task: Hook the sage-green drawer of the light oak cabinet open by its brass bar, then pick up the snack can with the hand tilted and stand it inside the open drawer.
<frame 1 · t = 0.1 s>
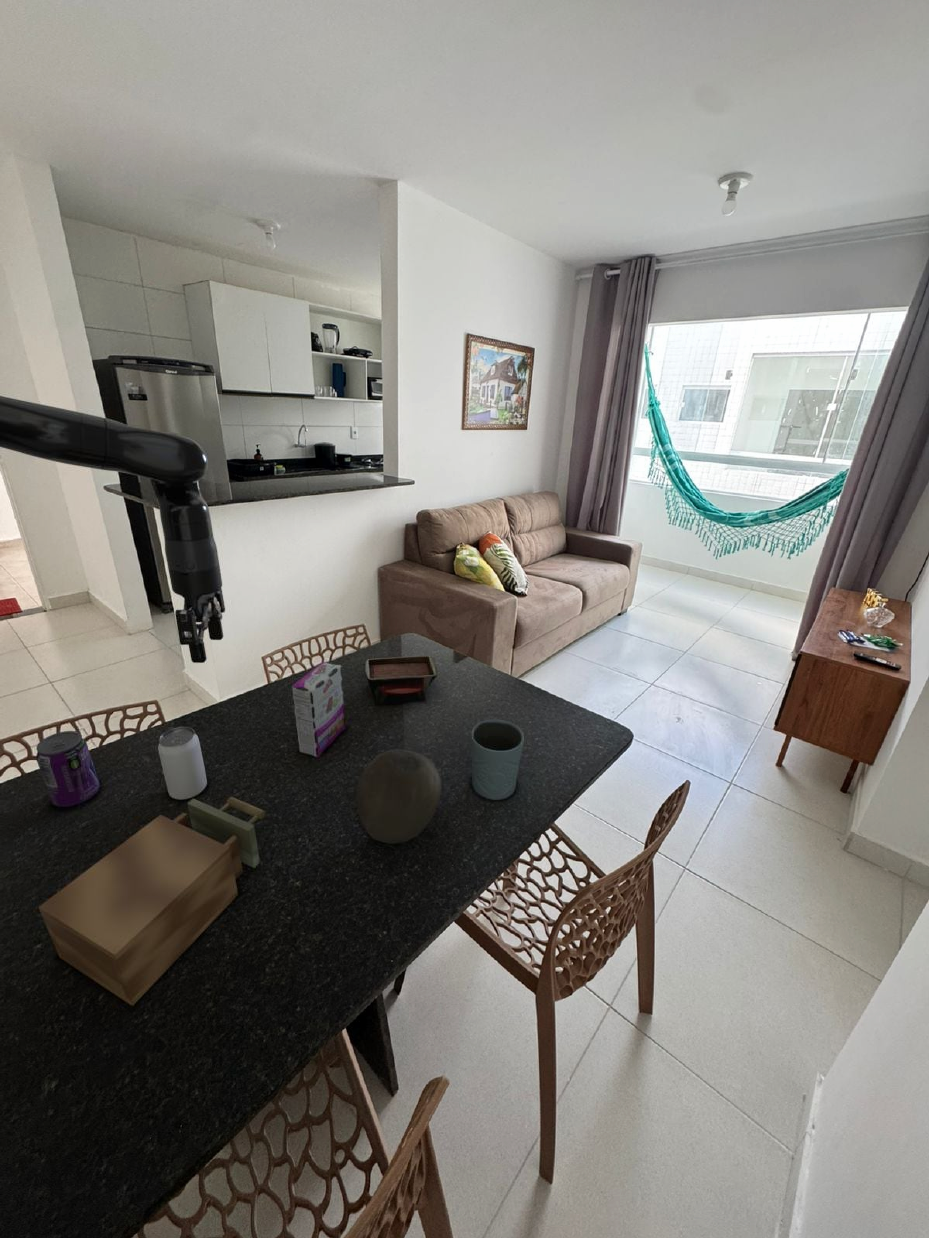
hand: (208, 650, 90), 27 cm above the table, tool pointing down, fingers open, 8 cm apart
cabinet: (154, 924, 72), on the table
teal cup: (492, 784, 101), on the table
can: (188, 789, 96), on the table
drawer: (198, 855, 77), point 5 cm above the table, slide at 4.0 cm
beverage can: (77, 796, 93), on the table
candy bar box: (322, 740, 111), on the table
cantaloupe: (398, 829, 90), on the table
baking dish: (400, 692, 130), on the table
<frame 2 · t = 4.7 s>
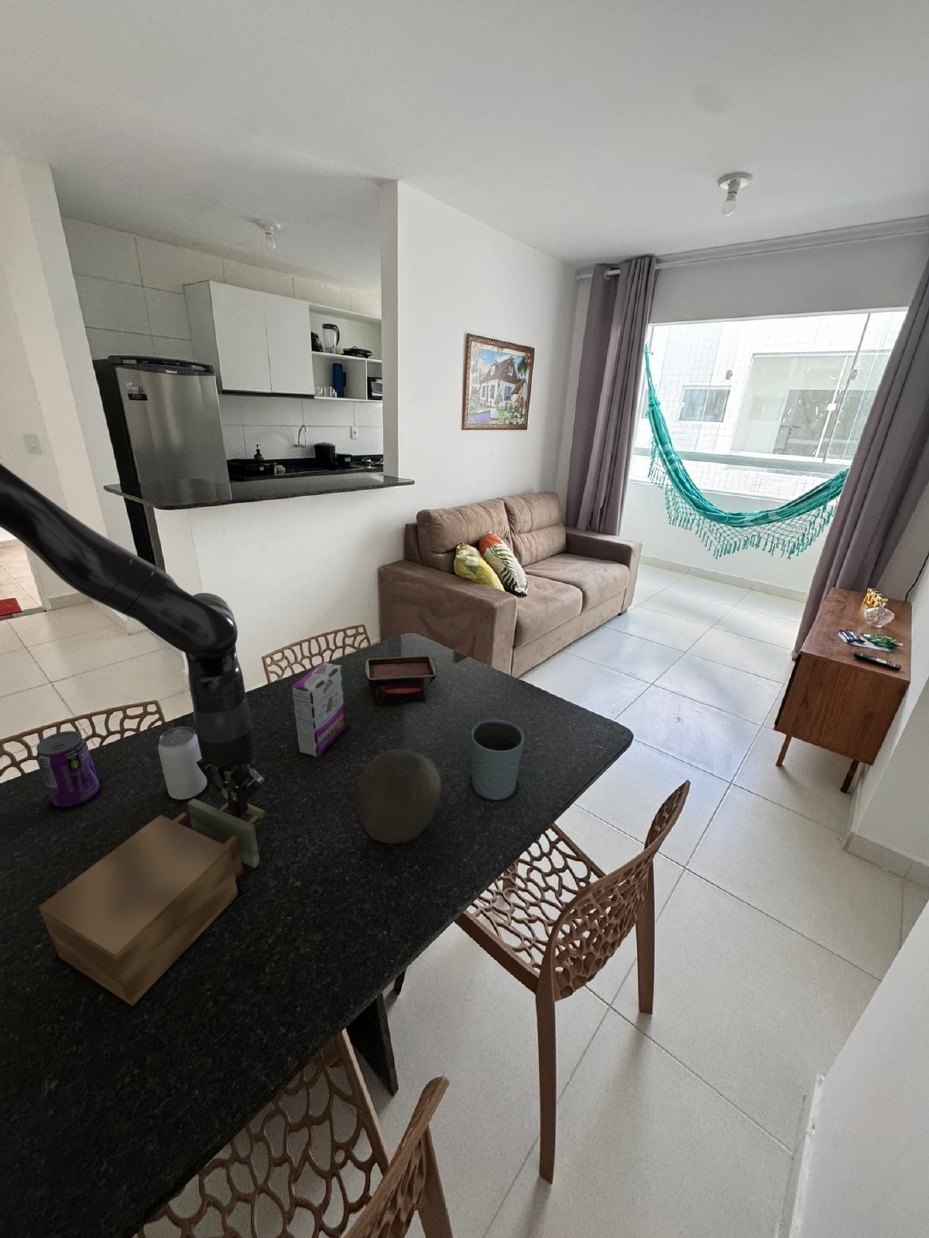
hand: (239, 813, 83), 6 cm above the table, tool pointing down, fingers closed
drawer: (198, 855, 77), point 5 cm above the table, slide at 4.0 cm, touching gripper
everything else where it was.
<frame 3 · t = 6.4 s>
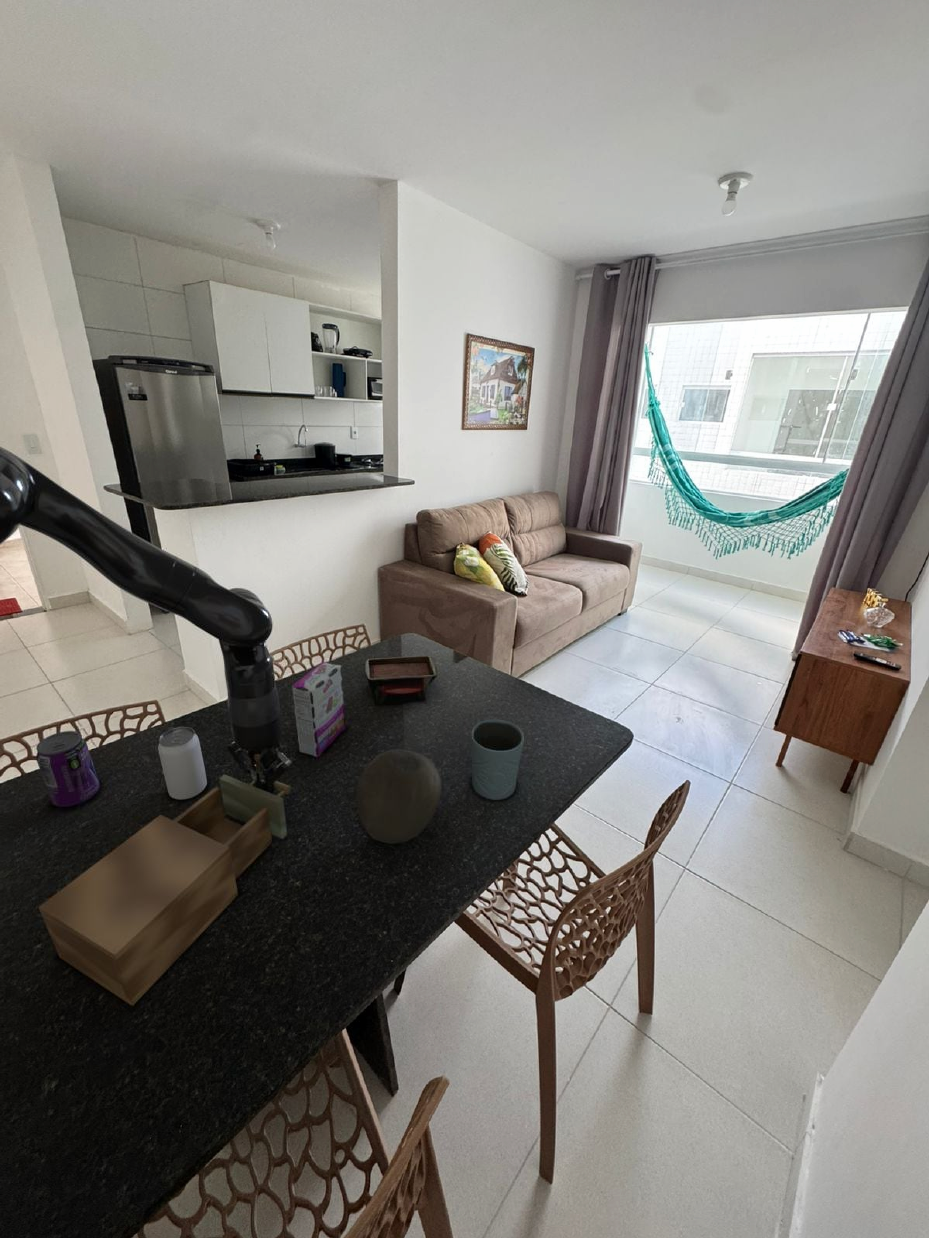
hand: (266, 794, 89), 5 cm above the table, tool pointing down, fingers closed
drawer: (231, 825, 82), point 5 cm above the table, slide at 10.3 cm
everything else where it was.
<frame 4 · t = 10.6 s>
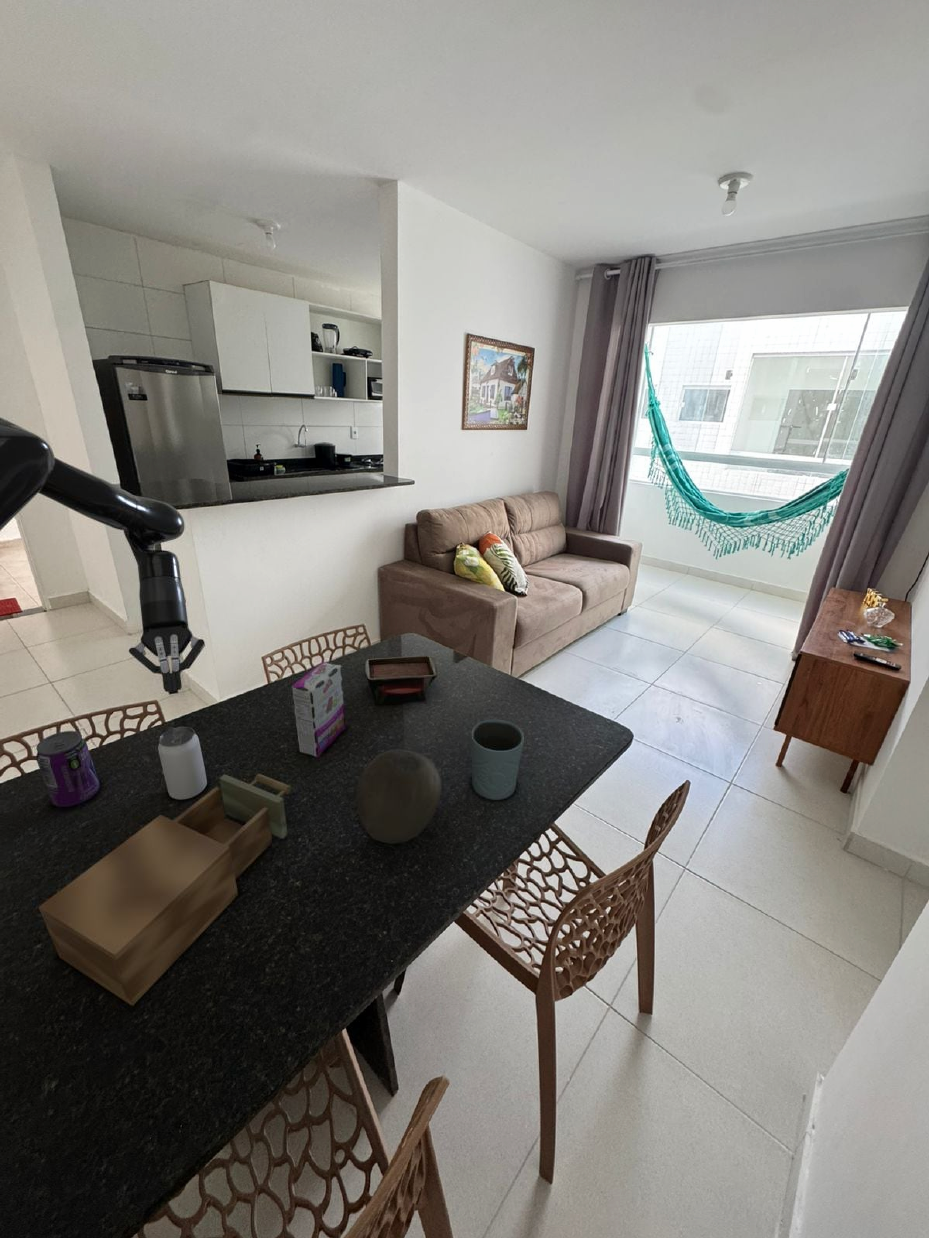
hand: (173, 693, 95), 17 cm above the table, tool tilted 40°, fingers closed
nothing on the table moved.
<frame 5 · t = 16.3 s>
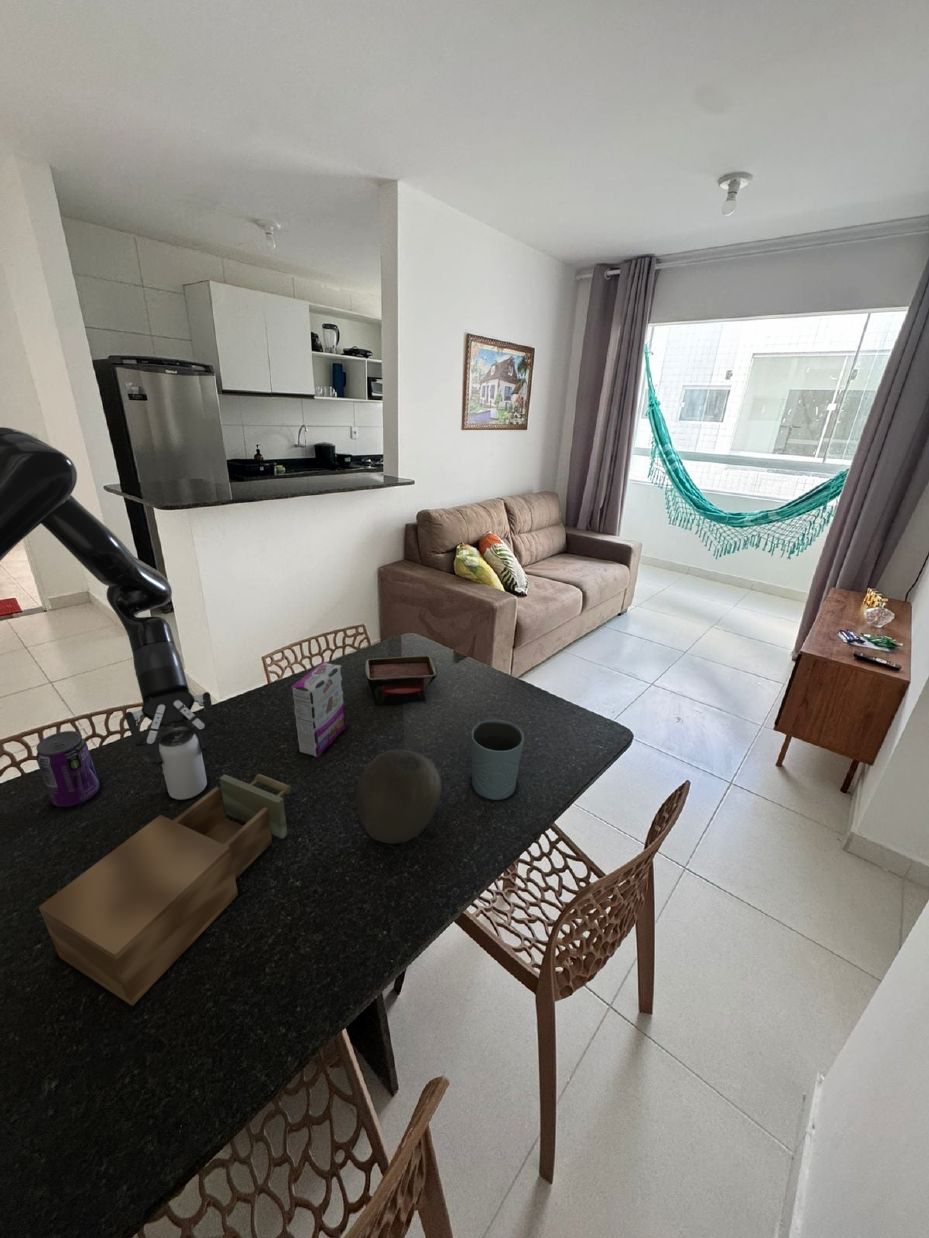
hand: (182, 757, 91), 8 cm above the table, tool tilted 45°, fingers closed on can, 6 cm apart
can: (188, 789, 96), on the table, touching gripper
everything else where it was.
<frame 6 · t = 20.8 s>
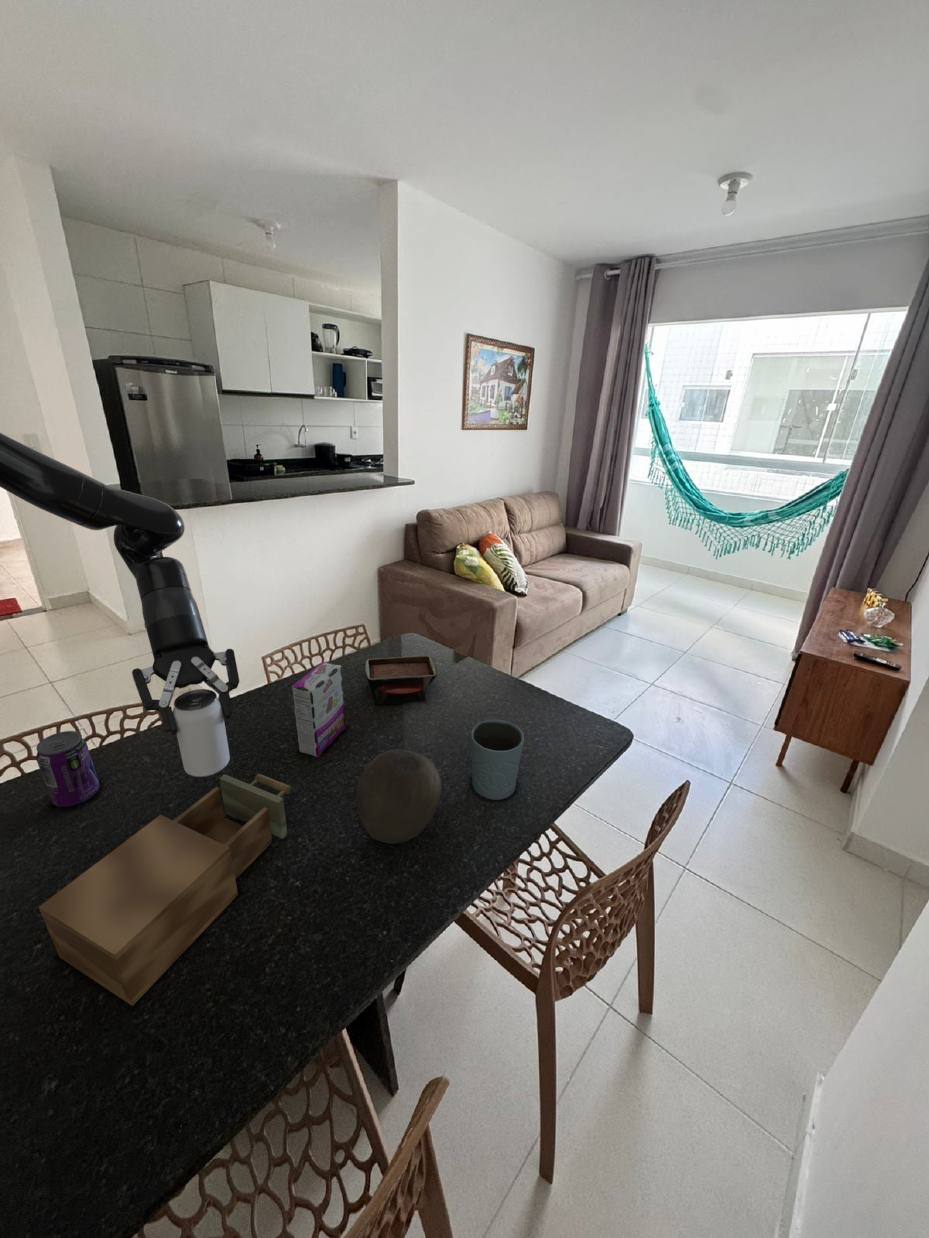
hand: (201, 725, 75), 24 cm above the table, tool tilted 45°, fingers closed on can, 6 cm apart
can: (207, 765, 80), point 15 cm above the table, touching gripper
everything else where it was.
when the fingers open (10 cm above the table, at t = 25.4 s): can stays where it is, resting on drawer.
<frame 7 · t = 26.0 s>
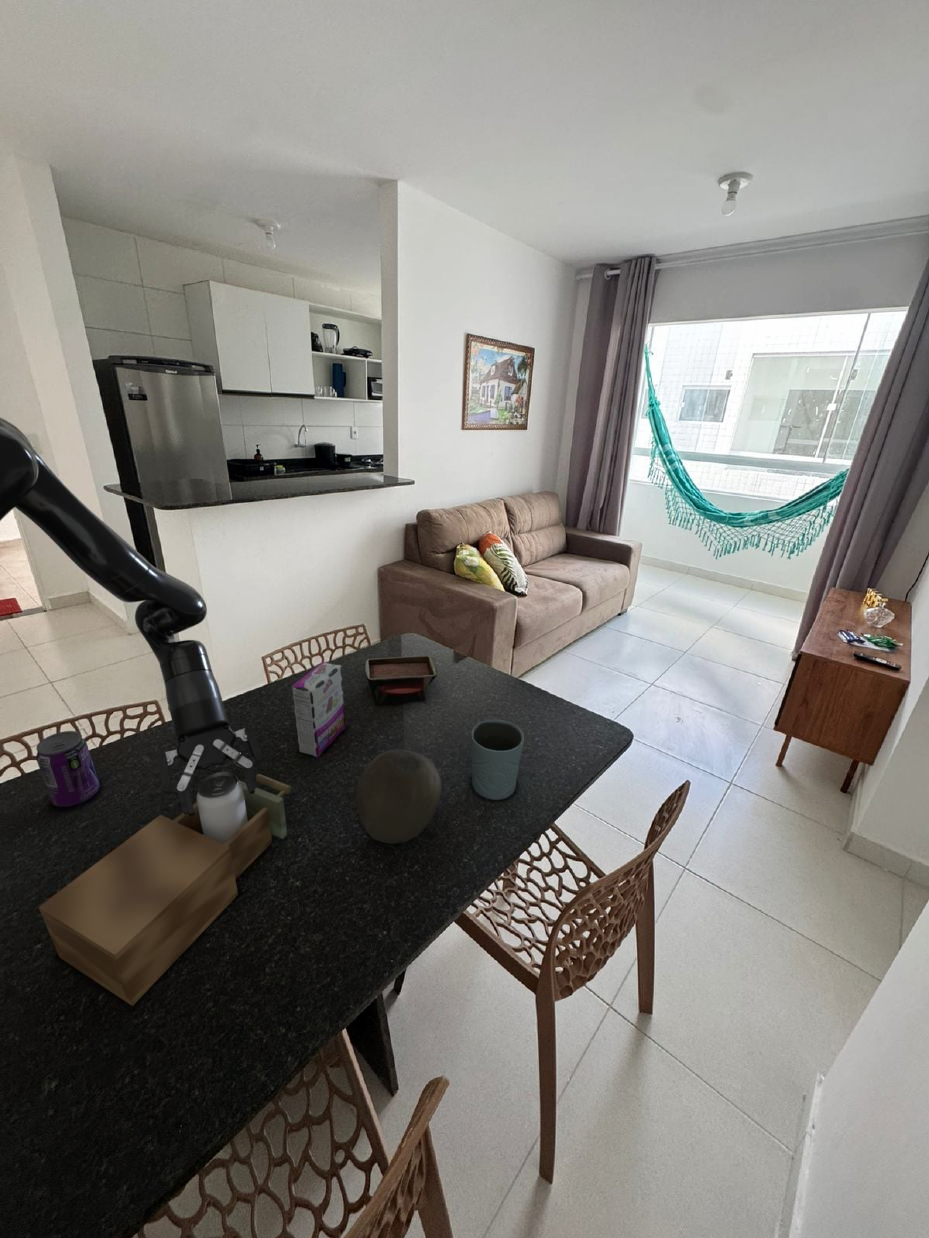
hand: (223, 804, 78), 11 cm above the table, tool tilted 45°, fingers open, 8 cm apart
can: (228, 843, 83), point 2 cm above the table, touching drawer
drawer: (231, 825, 82), point 5 cm above the table, slide at 10.3 cm, touching can
everything else where it was.
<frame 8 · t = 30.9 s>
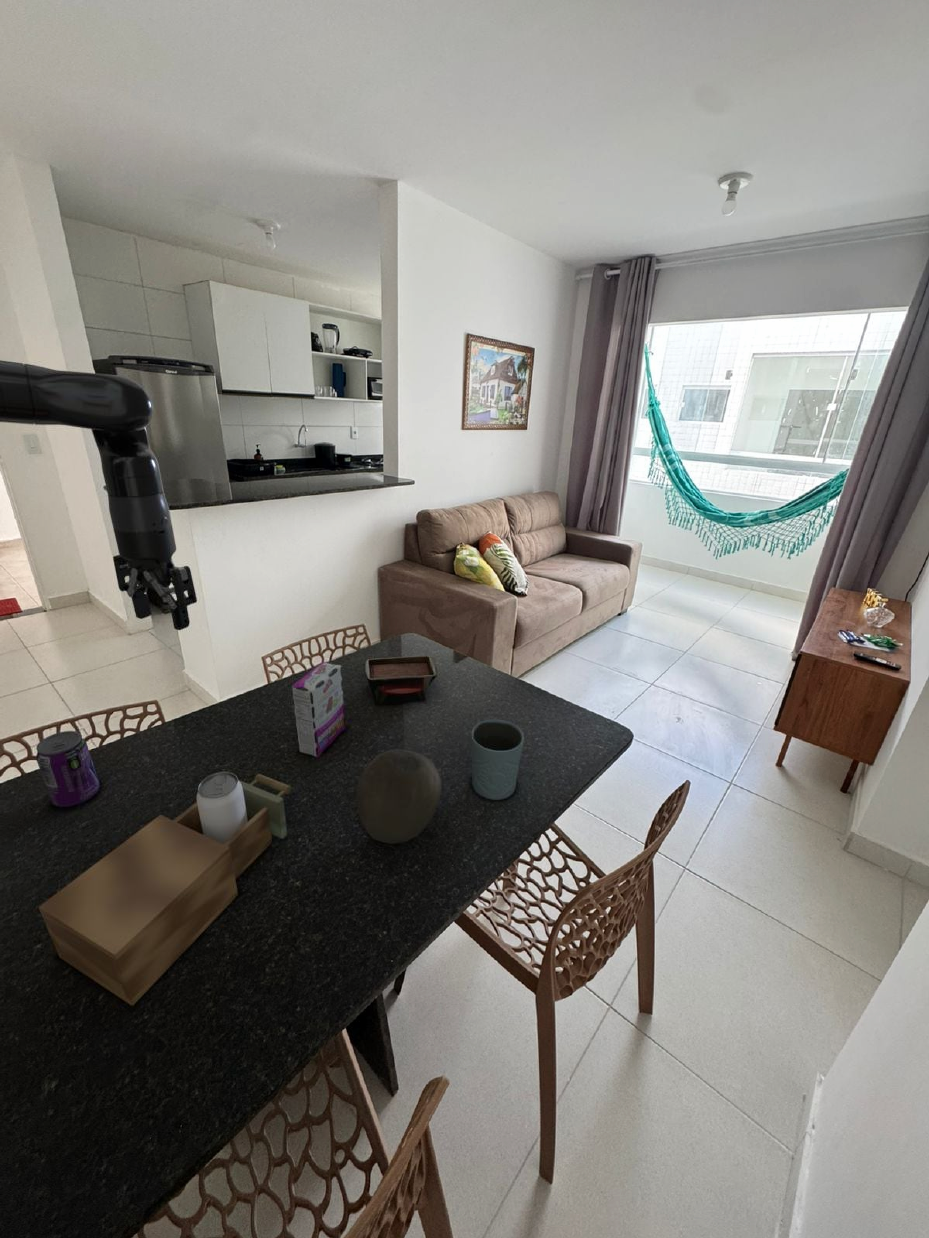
hand: (163, 622, 82), 34 cm above the table, tool pointing down, fingers open, 8 cm apart
nothing on the table moved.
at the end: drawer slide at 10.3 cm; can inside the target area in the drawer (0.3 cm from its centre), point 1.9 cm above the cabinet's base; can tilted 0° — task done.
